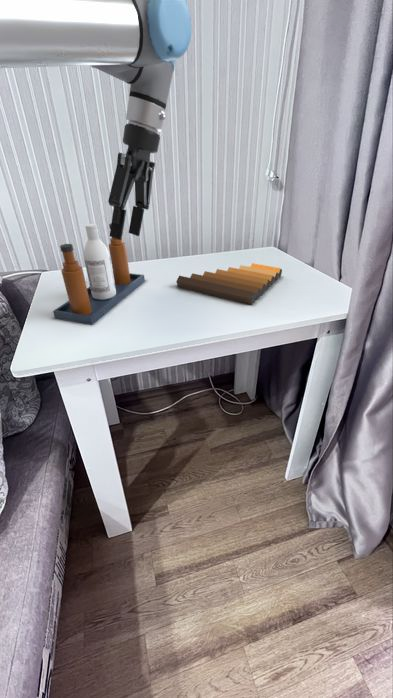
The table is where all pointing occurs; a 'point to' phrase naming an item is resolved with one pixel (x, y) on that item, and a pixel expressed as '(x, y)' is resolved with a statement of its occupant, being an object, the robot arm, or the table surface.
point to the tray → (99, 303)
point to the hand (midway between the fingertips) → (125, 235)
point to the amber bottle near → (75, 282)
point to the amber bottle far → (119, 261)
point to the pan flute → (234, 282)
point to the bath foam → (98, 265)
